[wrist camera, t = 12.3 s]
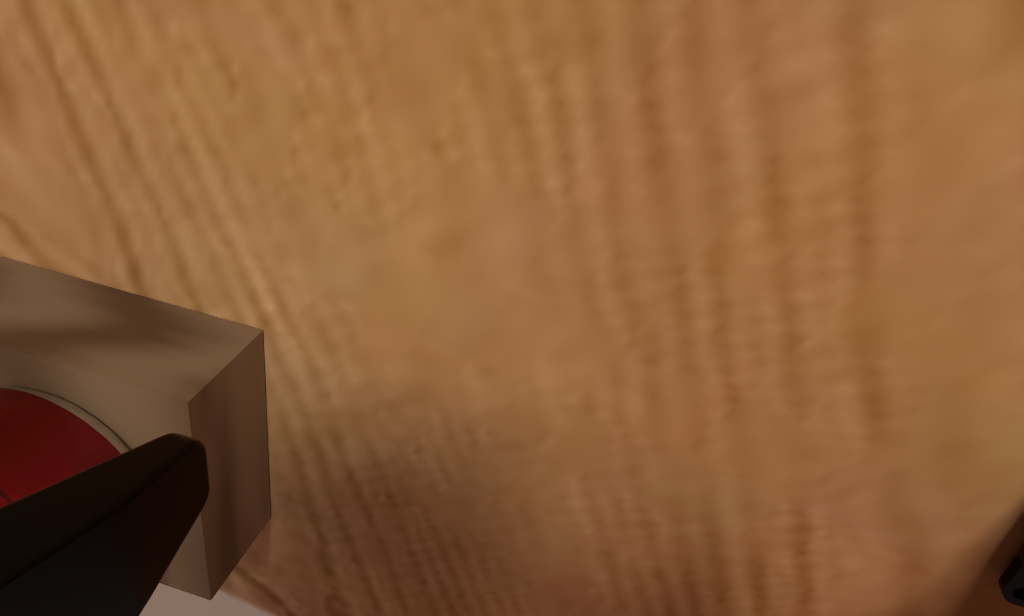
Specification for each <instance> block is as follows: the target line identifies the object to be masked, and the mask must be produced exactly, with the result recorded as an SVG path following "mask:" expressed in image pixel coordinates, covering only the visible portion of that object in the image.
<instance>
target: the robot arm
mask: <svg viewBox="0 0 1024 616" xmlns="http://www.w3.org/2000/svg"><path fill="white" fill-rule="evenodd" d="M209 490H210V483H209V473H208V464H207V454H206V448H205V445H204V444H203V442H202V441H200V440H199V439H195V438H192V437H189V436H185V435H182V434H179V433H169V434H165V435H163V436H160V437H158V438H156V439H154V440H152V441H149V442H147V443H145V444H143V445H140V446H138V447H136V448H134V449H131V450H129V451H127V452H125V453H122V454H120V455H118V456H116V457H113V458H111V459H109V460H107V461H104V462H102V463H100V464H98V465H95V466H93V467H91V468H89V469H86V470H84V471H82V472H80V473H77V474H75V475H73V476H71V477H68V478H66V479H64V480H62V481H59V482H57V483H55V484H53V485H51V486H48V487H46V488H44V489H42V490H39V491H37V492H35V493H33V494H30V495H28V496H26V497H24V498H21V499H19V500H17V501H15V502H12V503H10V504H8V505H6V506H3V507H1V508H0V616H139V615H140V613H141V611H142V610H143V608H144V607H145V605H146V604H147V602H148V600H149V599H150V597H151V595H152V594H153V592H154V590H155V589H156V587H157V585H158V584H159V582H160V580H161V579H162V577H163V575H164V574H165V572H166V570H167V568H168V567H169V565H170V563H171V562H172V560H173V558H174V557H175V555H176V553H177V551H178V550H179V548H180V546H181V545H182V543H183V541H184V540H185V538H186V536H187V535H188V533H189V531H190V529H191V528H192V526H193V524H194V523H195V521H196V519H197V518H198V516H199V514H200V513H201V511H202V509H203V507H204V506H205V504H206V501H207V499H208V495H209ZM999 586H1000V589H1001V591H1002V594H1003V596H1004V598H1005V599H1006V600H1007V601H1008V602H1010V603H1012V604H1015V605H1018V606H1022V607H1024V588H1020V587H1024V546H1023V547H1022V548H1021V549H1020V551H1019V553H1018V555H1017V556H1016V558H1015V559H1014V560H1013V562H1012V563H1011V564H1010V565H1009V567H1008V568H1007V569H1006V571H1005V572H1004V573H1003V574H1002V576H1001V577H1000V579H999Z"/></svg>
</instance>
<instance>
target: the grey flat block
mask: <svg viewBox="0 0 1024 616" xmlns="http://www.w3.org/2000/svg"><path fill="white" fill-rule="evenodd" d="M0 387H17V388H26V389H32V390H38V391H42V392H45V393H48V394H51V395H54V396H57V397H60V398H62V399H64V400H66V401H68V402H70V403H72V404H74V405H76V406H78V407H80V408H81V409H83V410H85V411H86V412H88V413H89V414H91V415H92V416H94V417H95V418H97V419H98V420H99V421H100V422H102V423H103V424H104V425H105V426H106V427H108V428H109V429H110V430H111V431H112V432H114V433H115V434H116V435H117V437H118V438H119V439H120V440H121V441H122V442H123V443H124V444H125V445H126V446H127V447H128V448H129V450H131V449H134V448H136V447H138V446H140V445H143V444H145V443H147V442H149V441H152V440H154V439H156V438H158V437H160V436H163V435H165V434H169V433H179V434H182V435H185V436H189V437H192V438H195V439H199V440H200V441H202V442H203V444H204V445H205V448H206V454H207V464H208V473H209V483H210V490H209V495H208V499H207V501H206V504H205V506H204V507H203V509H202V511H201V513H200V514H199V516H198V518H197V519H196V521H195V523H194V524H193V526H192V528H191V529H190V531H189V533H188V535H187V536H186V538H185V540H184V541H183V543H182V545H181V546H180V548H179V550H178V551H177V553H176V555H175V557H174V558H173V560H172V562H171V563H170V565H169V567H168V568H167V570H166V572H165V574H164V575H163V577H162V579H161V580H160V582H159V583H162V584H165V585H168V586H170V587H173V588H176V589H179V590H182V591H185V592H189V593H191V594H194V595H197V596H200V597H203V598H206V599H209V600H211V599H212V598H213V597H214V595H215V594H216V592H217V591H218V590H219V588H220V587H221V586H222V584H223V583H224V581H225V580H226V579H227V577H228V576H229V574H230V573H231V572H232V570H233V569H234V567H235V566H236V565H237V563H238V562H239V561H240V559H241V558H242V556H243V555H244V554H245V552H246V551H247V549H248V548H249V547H250V545H251V544H252V542H253V541H254V540H255V538H256V537H257V536H258V534H259V533H260V531H261V530H262V529H263V527H264V526H265V524H266V523H267V522H268V520H269V519H270V517H271V508H270V485H269V461H268V438H267V415H266V391H265V368H264V345H263V330H260V329H256V328H253V327H249V326H246V325H242V324H238V323H235V322H231V321H228V320H224V319H221V318H217V317H214V316H210V315H206V314H203V313H199V312H196V311H192V310H189V309H185V308H182V307H178V306H174V305H171V304H167V303H164V302H160V301H157V300H153V299H150V298H146V297H142V296H139V295H135V294H132V293H128V292H125V291H121V290H118V289H114V288H111V287H107V286H103V285H100V284H96V283H93V282H89V281H86V280H82V279H79V278H75V277H71V276H68V275H64V274H61V273H57V272H54V271H50V270H47V269H43V268H39V267H36V266H32V265H29V264H25V263H22V262H18V261H15V260H11V259H7V258H4V257H0Z"/></svg>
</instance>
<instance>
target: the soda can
mask: <svg viewBox="0 0 1024 616" xmlns="http://www.w3.org/2000/svg"><path fill="white" fill-rule="evenodd" d="M127 451H129V448H128V447H127V446H126V445H125V444H124V443H123V442H122V441H121V440H120V439H119V438H118V437H117V435H116V434H115V433H114V432H112V431H111V430H110V429H109V428H108V427H106V426H105V425H104V424H103V423H102V422H100V421H99V420H98V419H97V418H95V417H94V416H92V415H91V414H89V413H88V412H86V411H85V410H83V409H81V408H80V407H78V406H76V405H74V404H72V403H70V402H68V401H66V400H64V399H62V398H60V397H57V396H54V395H51V394H48V393H45V392H42V391H38V390H32V389H26V388H17V387H0V508H1V507H3V506H6V505H8V504H10V503H12V502H15V501H17V500H19V499H21V498H24V497H26V496H28V495H30V494H33V493H35V492H37V491H39V490H42V489H44V488H46V487H48V486H51V485H53V484H55V483H57V482H59V481H62V480H64V479H66V478H68V477H71V476H73V475H75V474H77V473H80V472H82V471H84V470H86V469H89V468H91V467H93V466H95V465H98V464H100V463H102V462H104V461H107V460H109V459H111V458H113V457H116V456H118V455H120V454H122V453H125V452H127Z"/></svg>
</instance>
